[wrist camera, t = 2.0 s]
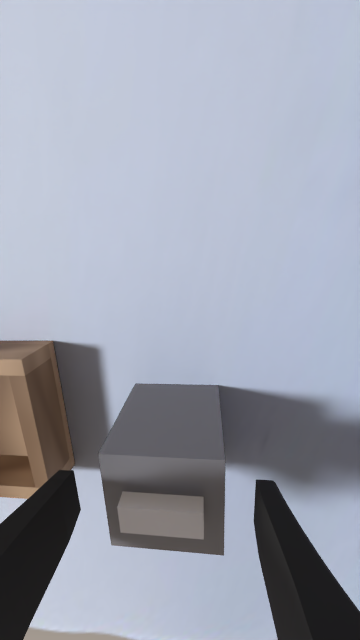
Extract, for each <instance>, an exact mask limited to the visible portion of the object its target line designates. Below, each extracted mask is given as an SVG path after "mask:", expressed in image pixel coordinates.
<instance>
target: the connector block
mask: <svg viewBox="0 0 360 640" xmlns="http://www.w3.org/2000/svg"><path fill="white" fill-rule="evenodd" d="M98 457H99V464H100V471H101V478H102V484H103V491H104V498H105V505H106V512H107V518H108V525H109V532H110V539H111V545H115V546H126V547H137V548H148V549H159V550H170V551H181V552H192V553H204V554H215V555H224V508H225V452H224V441H223V431H222V420H221V409H220V398H219V387H218V385H180V384H135V385H134V387H133V389H132V391H131V393H130V395H129V396H128V398H127V400H126V402H125V404H124V406H123V408H122V410H121V412H120V413H119V415H118V417H117V419H116V421H115V423H114V425H113V427H112V429H111V430H110V432H109V434H108V436H107V438H106V440H105V442H104V444H103V445H102V447H101V449H100V451H99V453H98Z"/></svg>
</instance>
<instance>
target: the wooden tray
mask: <svg viewBox="0 0 360 640" xmlns="http://www.w3.org/2000/svg"><path fill="white" fill-rule="evenodd" d="M74 464H75V461H74V456H73V450H72V445H71V439H70V433H69V428H68V422H67V417H66V411H65V406H64V400H63V395H62V389H61V383H60V378H59V372H58V367H57V361H56V356H55V350H54V345H53V341H0V497H10V498H24V499H28V498H29V497H30V496H32V495H33V494H34V493H35V492H36V491H37V490H38V489H39V488H40V487H41V486H42V485H43V484H44V483H45V482H47V481H48V480H49V479H50V478H51V477H52V476H53V475H54V474H55V473H56V472H57V471H59V470H71V469H72V468H73V466H74Z"/></svg>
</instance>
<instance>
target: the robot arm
mask: <svg viewBox="0 0 360 640" xmlns="http://www.w3.org/2000/svg"><path fill="white" fill-rule="evenodd" d="M80 510H81V509H80V503H79V498H78V492H77V487H76V481H75V476H74V471H72V470H59V471H57V472H56V473H55V474H54V475H53V476H52V477H51V478H50V479H49V480H48V481H47V482H45V483H44V484H43V485H42V486H41V487H40V488H39V489H38V490H37V491H36V492H35V493H34V494H33V495H32V496H30V497H29V498H28V499H27V500H26V501H25V502H24V503H23V504H22V505H21V506H20V507H18V508H17V509H16V510H15V511H14V512H13V513H12V514H11V515H10V516H9V517H7V518H6V519H5V520H4V521H3V522H2V523H1V524H0V640H23V639H24V636H25V634H26V632H27V630H28V627H29V625H30V623H31V621H32V619H33V617H34V614H35V612H36V610H37V608H38V606H39V604H40V602H41V600H42V598H43V596H44V594H45V591H46V589H47V587H48V585H49V583H50V581H51V579H52V577H53V575H54V573H55V570H56V568H57V566H58V564H59V562H60V560H61V558H62V556H63V553H64V551H65V549H66V547H67V545H68V543H69V540H70V538H71V535H72V532H73V530H74V527H75V524H76V521H77V519H78V516H79V513H80ZM254 526H255V533H256V540H257V547H258V553H259V559H260V563H261V568H262V572H263V576H264V581H265V585H266V590H267V594H268V598H269V603H270V607H271V611H272V616H273V620H274V624H275V629H276V633H277V637H278V640H360V611H359V610H358V609H357V607H356V606H355V605H354V603H353V602H352V601H351V599H350V598H349V597H348V595H347V594H346V593H345V591H344V590H343V588H342V587H341V586H340V584H339V583H338V581H337V580H336V579H335V577H334V576H333V574H332V573H331V572H330V570H329V569H328V567H327V566H326V564H325V563H324V561H323V560H322V559H321V557H320V556H319V554H318V553H317V551H316V550H315V548H314V547H313V545H312V543H311V542H310V540H309V539H308V537H307V536H306V534H305V533H304V531H303V530H302V528H301V526H300V525H299V523H298V522H297V520H296V518H295V517H294V515H293V513H292V512H291V510H290V508H289V507H288V505H287V503H286V501H285V500H284V498H283V496H282V494H281V493H280V491H279V489H278V487H277V485H276V483H275V482H274V481H271V480H256V490H255V509H254Z"/></svg>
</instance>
